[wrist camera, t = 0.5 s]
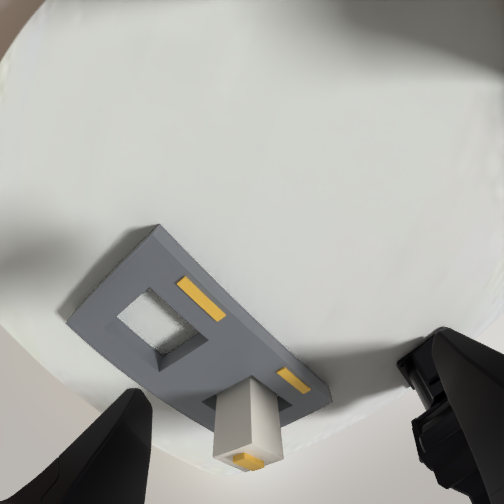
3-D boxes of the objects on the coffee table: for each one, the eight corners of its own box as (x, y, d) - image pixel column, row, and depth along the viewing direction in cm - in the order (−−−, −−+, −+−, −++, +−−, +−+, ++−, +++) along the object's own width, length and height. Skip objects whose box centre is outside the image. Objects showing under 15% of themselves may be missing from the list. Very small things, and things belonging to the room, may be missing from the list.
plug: (276, 389, 27) (284, 464, 19) (244, 405, 28) (245, 477, 20) (249, 369, 26) (252, 449, 18) (217, 386, 27) (212, 463, 19)
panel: (328, 386, 27) (333, 403, 25) (238, 431, 30) (237, 446, 28) (159, 223, 20) (150, 235, 18) (75, 310, 23) (64, 324, 21)
